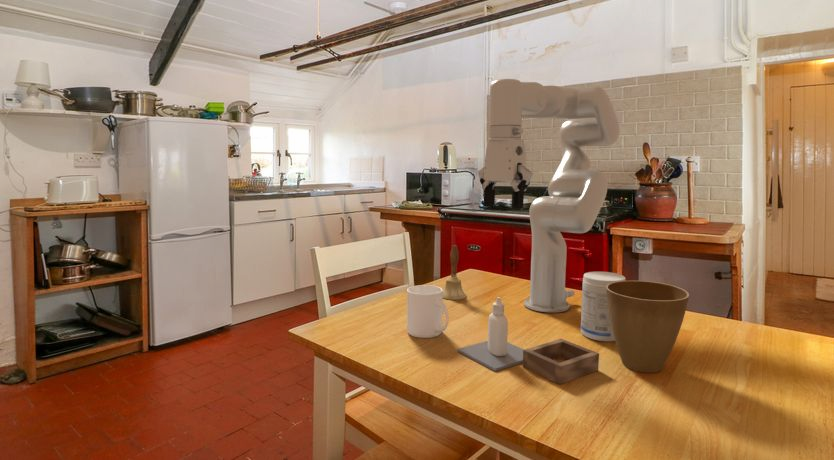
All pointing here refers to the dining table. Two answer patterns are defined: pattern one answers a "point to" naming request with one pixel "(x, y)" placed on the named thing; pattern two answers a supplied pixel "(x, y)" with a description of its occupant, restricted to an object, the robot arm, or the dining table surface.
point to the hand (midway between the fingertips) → (502, 206)
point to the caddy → (575, 366)
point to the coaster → (493, 356)
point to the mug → (425, 311)
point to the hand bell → (453, 279)
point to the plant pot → (645, 321)
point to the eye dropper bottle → (497, 330)
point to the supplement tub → (597, 305)
